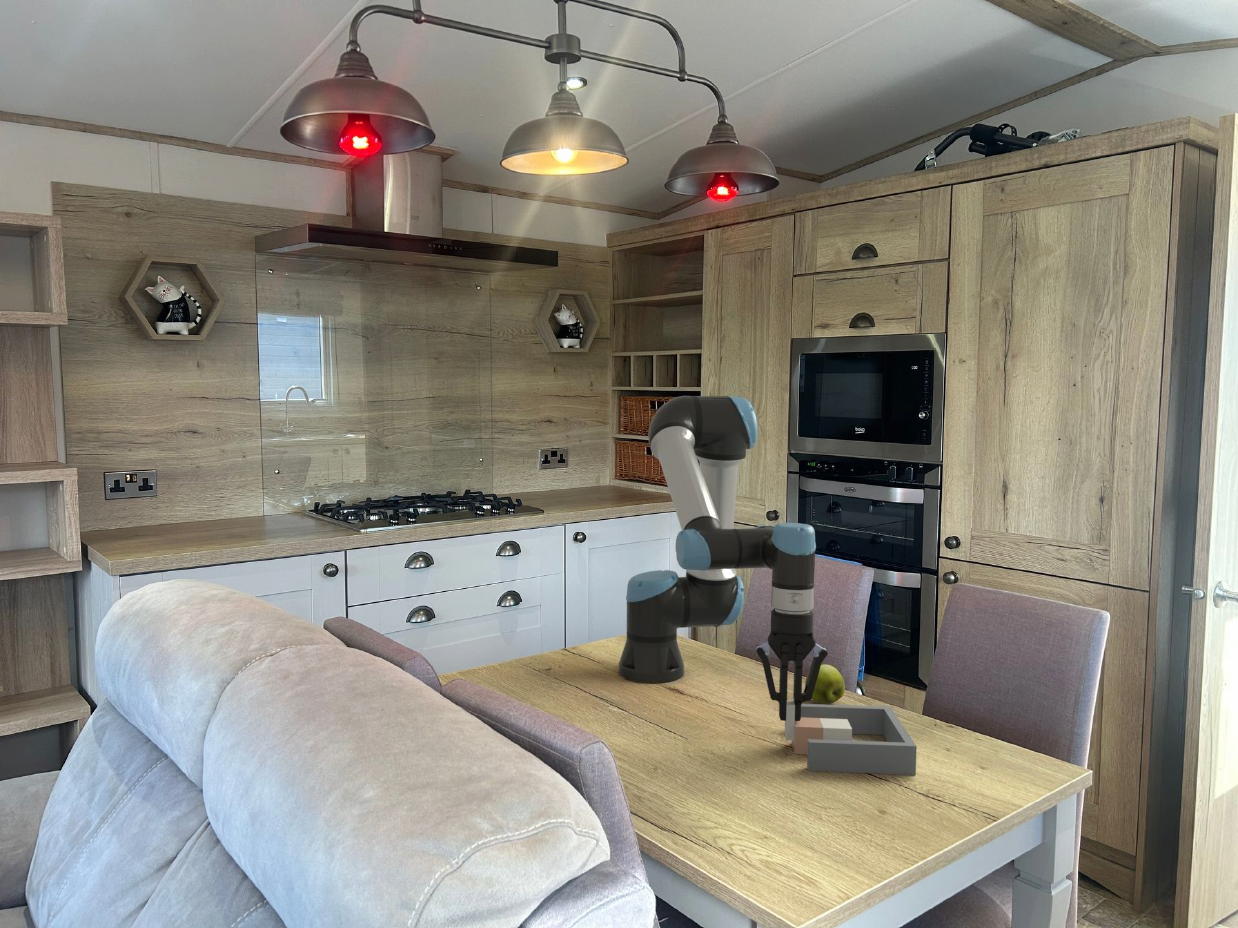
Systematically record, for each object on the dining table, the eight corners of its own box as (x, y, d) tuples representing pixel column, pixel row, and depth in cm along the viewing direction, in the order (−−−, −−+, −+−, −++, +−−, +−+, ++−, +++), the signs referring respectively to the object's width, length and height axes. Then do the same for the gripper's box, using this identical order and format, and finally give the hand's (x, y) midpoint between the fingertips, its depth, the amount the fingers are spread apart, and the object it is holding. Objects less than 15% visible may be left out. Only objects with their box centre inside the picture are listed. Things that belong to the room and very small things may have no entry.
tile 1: (791, 743, 168) (792, 716, 167) (818, 744, 167) (819, 717, 167) (794, 753, 163) (795, 726, 162) (822, 754, 162) (823, 727, 162)
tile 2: (819, 744, 167) (819, 718, 167) (846, 745, 167) (847, 719, 167) (822, 755, 162) (823, 727, 162) (851, 756, 162) (852, 728, 162)
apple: (828, 694, 196) (829, 658, 196) (852, 708, 188) (853, 670, 187) (796, 698, 194) (797, 661, 193) (819, 711, 185) (820, 673, 184)
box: (794, 728, 175) (795, 703, 175) (889, 732, 174) (890, 706, 174) (808, 770, 155) (808, 742, 155) (915, 774, 154) (916, 746, 154)
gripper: (757, 613, 160) (754, 743, 162) (832, 615, 159) (828, 746, 161) (754, 604, 168) (751, 728, 169) (825, 606, 167) (822, 731, 168)
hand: (789, 737), depth 165 cm, fingers closed
